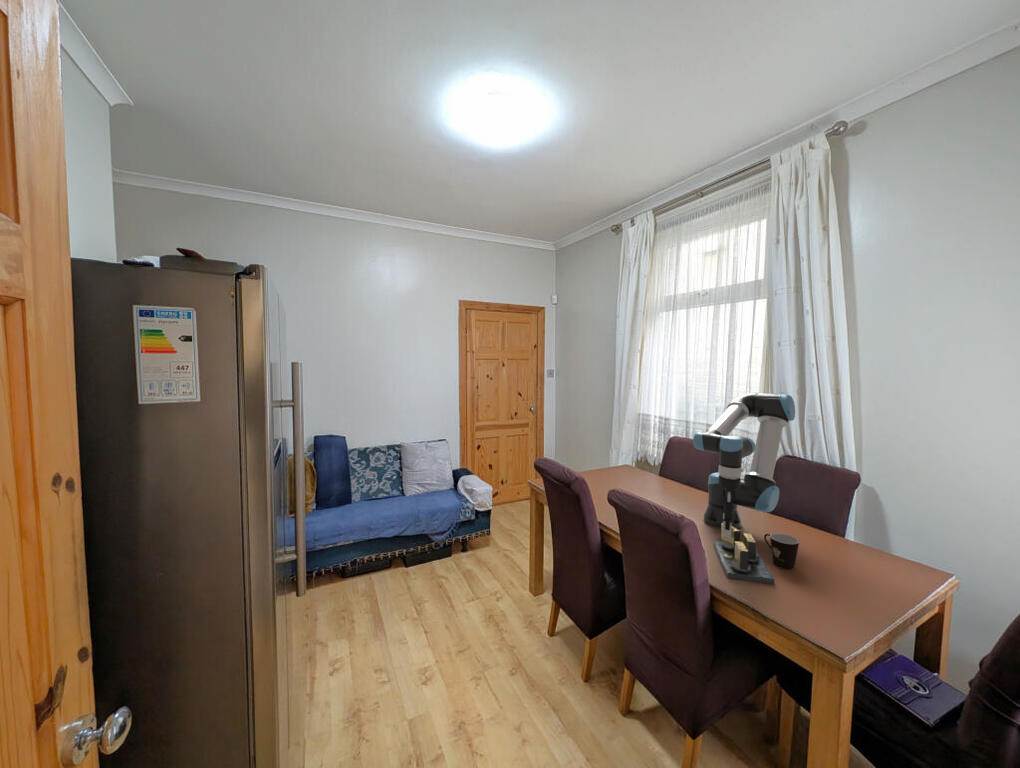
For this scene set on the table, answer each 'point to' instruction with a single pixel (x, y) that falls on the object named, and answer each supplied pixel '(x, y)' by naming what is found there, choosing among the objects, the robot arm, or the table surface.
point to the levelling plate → (756, 575)
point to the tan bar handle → (741, 558)
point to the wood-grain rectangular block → (750, 548)
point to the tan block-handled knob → (730, 542)
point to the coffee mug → (783, 550)
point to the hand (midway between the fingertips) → (726, 533)
